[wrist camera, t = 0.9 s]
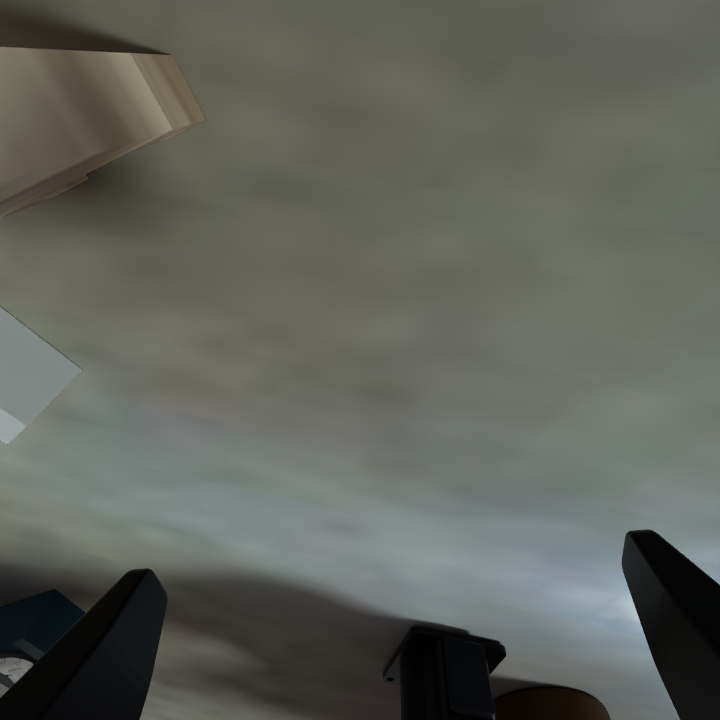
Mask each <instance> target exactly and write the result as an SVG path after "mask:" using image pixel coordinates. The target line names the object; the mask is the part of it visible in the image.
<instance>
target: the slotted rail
mask: <svg viewBox="0 0 720 720" xmlns="http://www.w3.org/2000/svg"><path fill="white" fill-rule="evenodd" d="M81 371H82V369H80V368H79V367H78V366H76V365H75V364H74V363H73V362H71V361H70V360H69V359H67V358H66V357H65V356H63V355H62V354H61V353H60V352H58V351H57V350H56V349H54V348H53V347H52V346H51V345H49V344H48V343H47V342H45V341H44V340H43V339H41V338H40V337H39V336H38V335H36V334H35V333H34V332H32V331H31V330H30V329H29V328H27V327H26V326H25V325H23V324H22V323H21V322H19V321H18V320H17V319H16V318H14V317H13V316H12V315H10V314H9V313H8V312H7V311H5V310H4V309H3V308H1V307H0V440H1V441H2V442H4V443H5V444H7V445H8V444H9V443H10V442H11V441H12V440H13V439H14V438H15V437H16V436H17V435H18V434H19V433H20V432H21V431H23V430H24V429H25V428H26V427H27V426H28V425H29V424H30V423H31V422H32V421H33V420H34V419H35V418H36V417H37V416H38V415H39V414H40V413H41V412H42V411H43V410H44V409H45V408H46V407H47V406H48V405H49V403H50V402H51V401H52V400H53V399H54V398H55V397H56V396H57V395H58V394H59V393H60V392H61V391H62V390H63V389H64V388H65V387H66V386H67V385H68V384H69V383H70V382H71V381H72V380H73V379H74V378H75V377H76V376H77V375H78V374H79V373H80V372H81Z"/></svg>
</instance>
